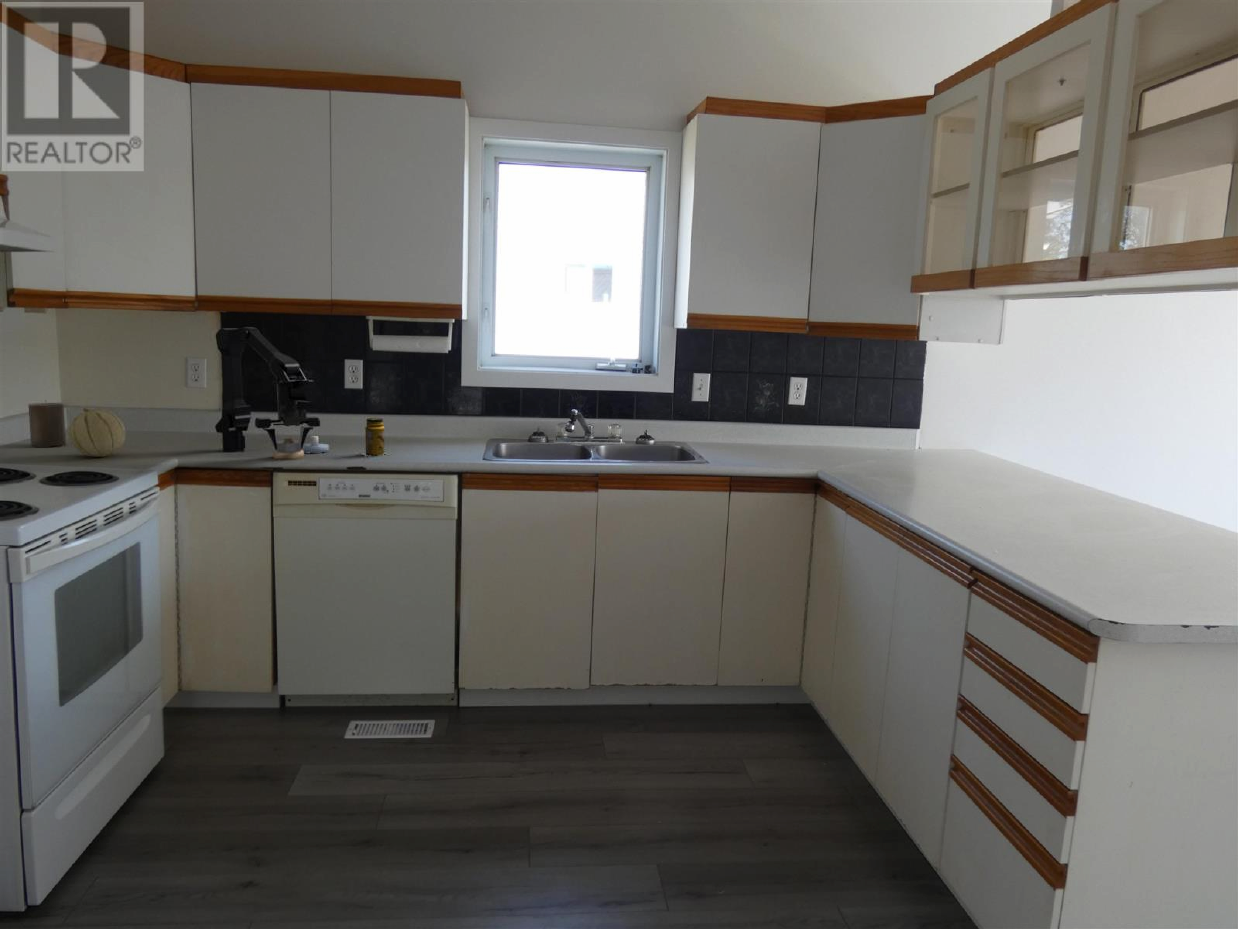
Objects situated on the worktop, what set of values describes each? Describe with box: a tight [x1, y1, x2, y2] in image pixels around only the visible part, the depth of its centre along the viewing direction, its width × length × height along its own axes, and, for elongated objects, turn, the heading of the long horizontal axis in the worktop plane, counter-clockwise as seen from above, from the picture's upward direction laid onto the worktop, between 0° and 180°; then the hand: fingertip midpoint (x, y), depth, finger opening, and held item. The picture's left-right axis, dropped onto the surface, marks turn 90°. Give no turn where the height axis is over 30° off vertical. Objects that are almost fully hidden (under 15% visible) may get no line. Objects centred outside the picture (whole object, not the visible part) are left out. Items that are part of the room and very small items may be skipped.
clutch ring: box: [276, 439, 301, 453], centre depth 279 cm, size 7×7×3 cm
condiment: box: [355, 417, 390, 458], centre depth 290 cm, size 7×8×12 cm
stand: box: [273, 437, 305, 461], centre depth 279 cm, size 9×9×6 cm
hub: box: [301, 435, 330, 454], centre depth 293 cm, size 9×9×5 cm
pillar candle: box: [27, 399, 67, 448], centre depth 286 cm, size 10×10×15 cm
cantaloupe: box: [68, 407, 126, 458], centre depth 269 cm, size 15×15×15 cm
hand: (288, 449), depth 280 cm, fingers open, 7 cm apart
